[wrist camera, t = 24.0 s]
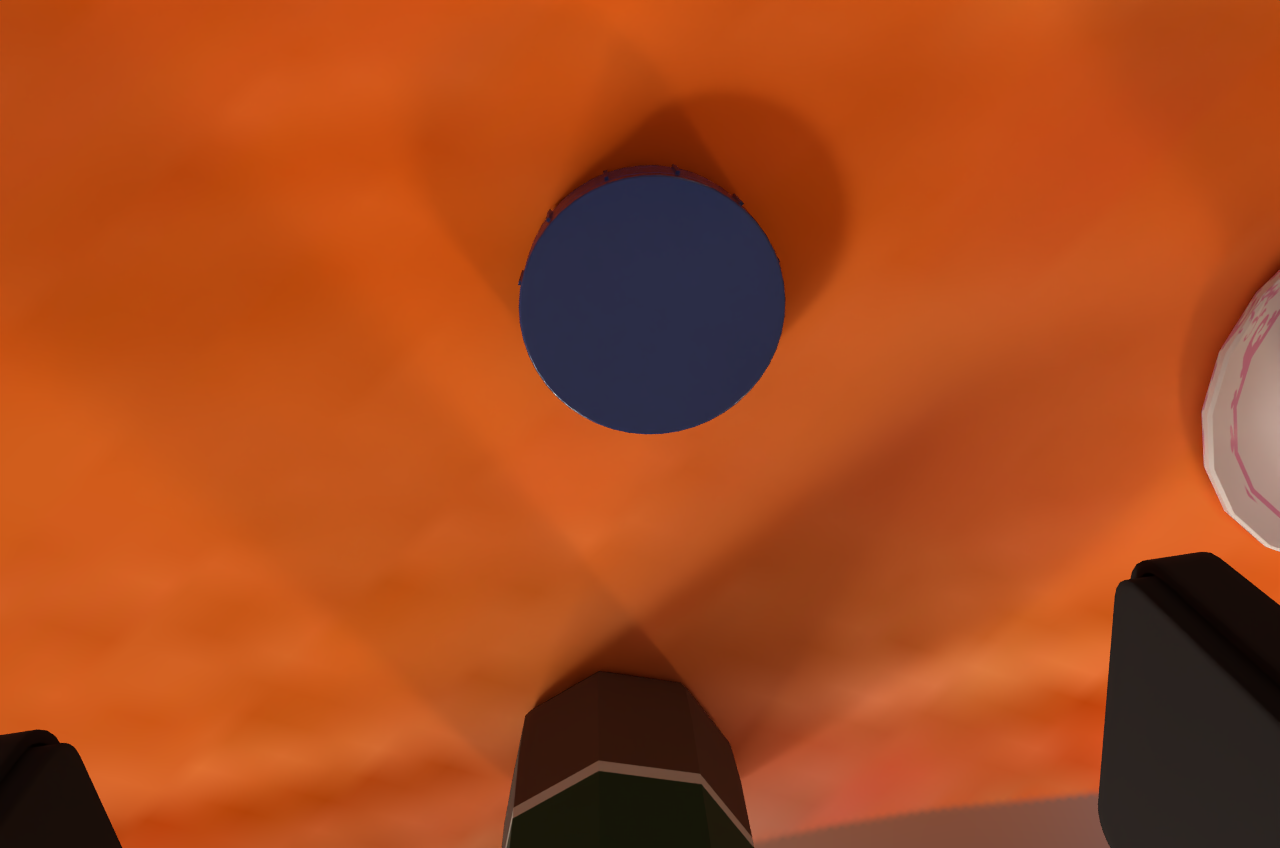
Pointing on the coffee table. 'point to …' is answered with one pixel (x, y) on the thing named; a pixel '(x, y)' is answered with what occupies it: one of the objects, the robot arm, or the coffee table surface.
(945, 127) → the coffee table surface
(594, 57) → the coffee table surface
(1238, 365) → the teacup
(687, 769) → the beer bottle
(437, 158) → the coffee table surface
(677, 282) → the jar lid
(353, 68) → the coffee table surface
